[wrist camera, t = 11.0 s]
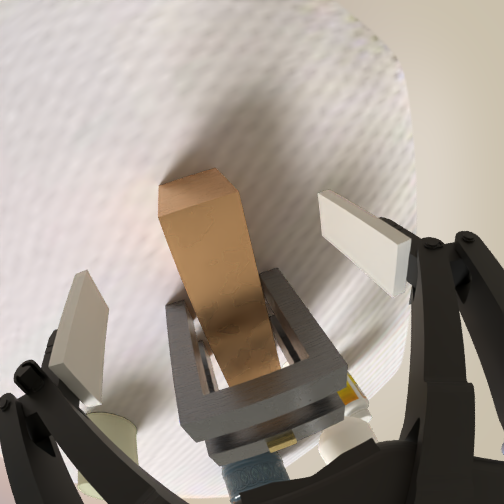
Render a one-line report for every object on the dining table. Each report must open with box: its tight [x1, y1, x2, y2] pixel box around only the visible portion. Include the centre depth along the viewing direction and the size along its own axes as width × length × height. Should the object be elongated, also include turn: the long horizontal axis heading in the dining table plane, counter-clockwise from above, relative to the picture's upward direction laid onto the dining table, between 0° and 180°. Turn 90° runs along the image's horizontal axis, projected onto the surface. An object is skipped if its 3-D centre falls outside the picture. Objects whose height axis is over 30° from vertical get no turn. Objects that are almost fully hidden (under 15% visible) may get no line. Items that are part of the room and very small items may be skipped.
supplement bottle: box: [337, 371, 372, 423], centre depth 38 cm, size 6×6×10 cm
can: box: [77, 412, 138, 500], centre depth 30 cm, size 9×9×12 cm
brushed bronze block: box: [158, 168, 281, 387], centre depth 27 cm, size 24×5×8 cm, turn 12°
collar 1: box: [165, 268, 348, 442], centre depth 25 cm, size 3×12×14 cm, turn 102°
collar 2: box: [198, 315, 345, 466], centre depth 27 cm, size 3×12×15 cm, turn 102°
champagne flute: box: [282, 361, 378, 465], centre depth 29 cm, size 7×7×24 cm
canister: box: [222, 451, 290, 504], centre depth 44 cm, size 13×13×18 cm
